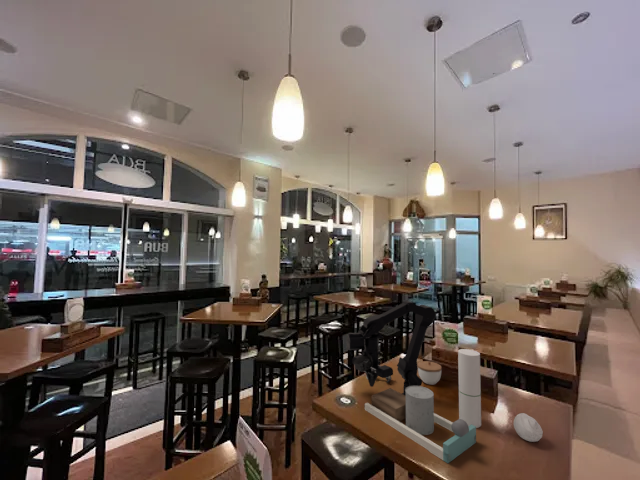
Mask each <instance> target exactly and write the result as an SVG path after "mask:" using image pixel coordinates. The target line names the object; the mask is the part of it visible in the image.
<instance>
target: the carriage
mask: <svg viewBox="0 0 640 480" xmlns="http://www.w3.org/2000/svg"><path fill="white" fill-rule="evenodd" d="M371 405H372V406H374V407H376V408H377V409H379V410H381V411H382V412H384V413H386V414H387V415H389V416H391V417H392V418H394V419H396V420H397V421H399V422H400V423H401V422H402V421H403V420H406V396H405V395H403V394H402V393H401V392H399V391H397V390H395V389H393V388H391V387H390V388H388V389H387V388H386V389H384V390H382V391H379V392H377V393H375V394H372V395H371Z"/></svg>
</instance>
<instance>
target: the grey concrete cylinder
mask: <svg viewBox="0 0 640 480" xmlns="http://www.w3.org/2000/svg"><path fill="white" fill-rule="evenodd" d="M405 392H406V418H405V426H407V427H409V428H410V429H412V430H414V431H415V432H417V433H419V434H420V435H422V436H429V435H431V434H433V433H434V431H435V422H434V413H435V412H434V411H435V409H434V408H435V406H434V405H435V404H434V403H435V401H434V399H435V397H434V396H435V395H434V394H435V393H434V392H433V390H431V389H430V388H428V387H424V386H422V385H421V386H409V387H407V388H406V389H405Z"/></svg>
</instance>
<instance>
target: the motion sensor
mask: <svg viewBox="0 0 640 480" xmlns="http://www.w3.org/2000/svg"><path fill="white" fill-rule="evenodd" d="M513 419H514V420H513V428H514V430H515V432H516V434H517V435H518V436H519V437H520V438H521V439H523V440H525V441H527V442H530V443H532V442H533V443H535V442H538V441H540V440H541V439H542V438H543V433H544V432H543V428H542V426H541V425H540V423H538V421H537V420H536V419H535V418H534V417H532V416H530V415H528V414H527V413H524V412H522V413H518V414H516V415H515V417H513Z"/></svg>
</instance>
